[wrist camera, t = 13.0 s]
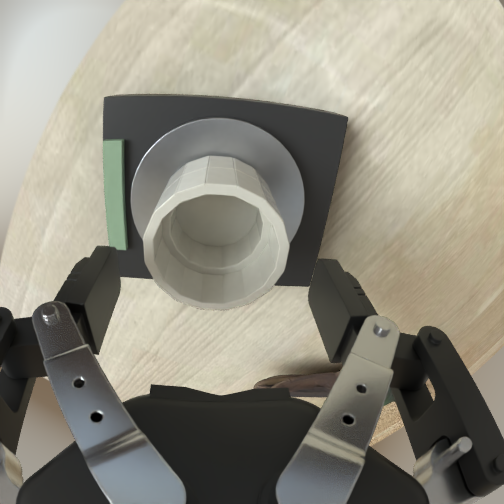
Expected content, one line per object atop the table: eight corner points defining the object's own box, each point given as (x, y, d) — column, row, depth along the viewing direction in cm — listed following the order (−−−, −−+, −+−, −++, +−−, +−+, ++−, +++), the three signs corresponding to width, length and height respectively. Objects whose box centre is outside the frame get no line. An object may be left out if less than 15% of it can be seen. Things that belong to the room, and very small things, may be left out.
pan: (138, 268, 20) (135, 274, 19) (134, 113, 15) (130, 114, 14) (285, 276, 21) (288, 283, 21) (314, 127, 16) (319, 130, 16)
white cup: (163, 250, 18) (148, 306, 14) (164, 150, 15) (141, 180, 11) (262, 256, 19) (275, 312, 15) (278, 159, 16) (300, 191, 12)
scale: (121, 257, 22) (111, 280, 20) (117, 94, 16) (100, 97, 14) (302, 267, 24) (311, 291, 22) (334, 112, 18) (352, 118, 16)
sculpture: (263, 338, 28) (271, 382, 24) (438, 373, 37) (452, 399, 32) (241, 368, 30) (245, 410, 26) (416, 394, 39) (428, 419, 34)
